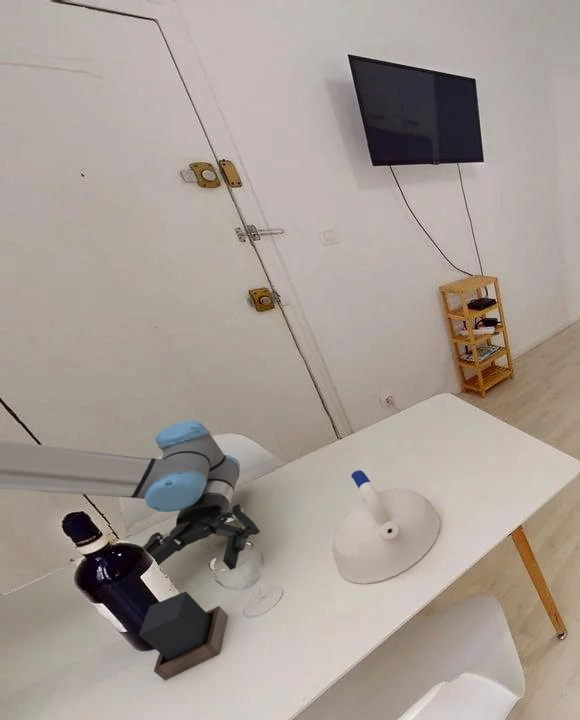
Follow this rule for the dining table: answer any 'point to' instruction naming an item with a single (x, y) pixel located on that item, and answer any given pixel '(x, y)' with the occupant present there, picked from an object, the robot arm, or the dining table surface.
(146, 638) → the dark gray block
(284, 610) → the dining table surface
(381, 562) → the white plastic funnel
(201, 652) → the tray
